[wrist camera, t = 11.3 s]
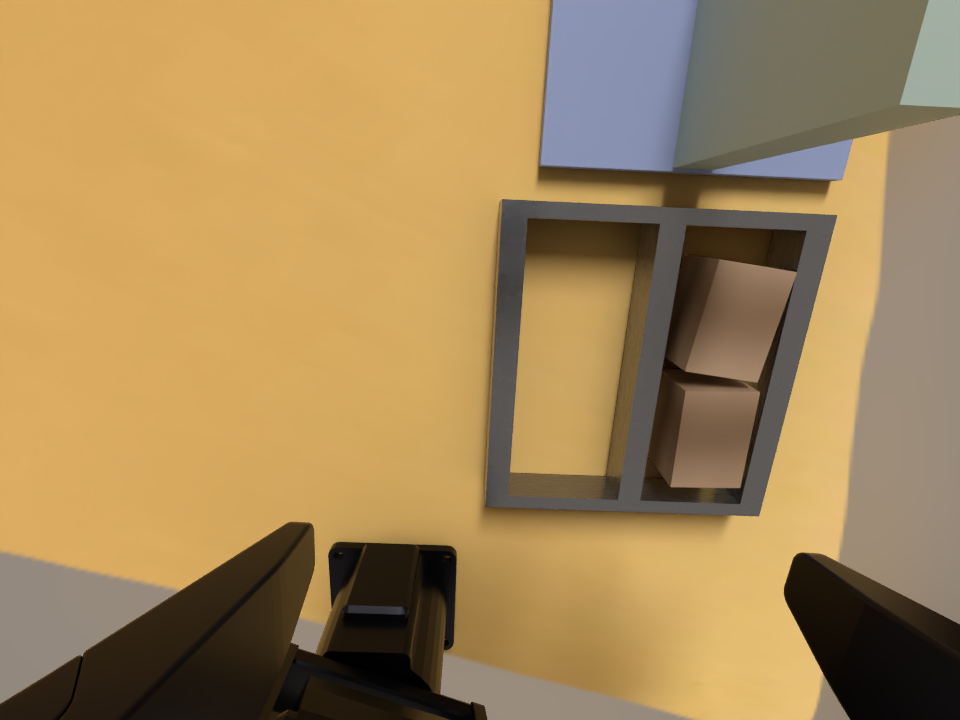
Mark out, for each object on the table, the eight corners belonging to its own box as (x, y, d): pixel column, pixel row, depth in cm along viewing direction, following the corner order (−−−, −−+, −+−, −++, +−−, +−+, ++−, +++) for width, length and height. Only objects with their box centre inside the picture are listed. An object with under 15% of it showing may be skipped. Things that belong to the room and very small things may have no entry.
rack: (735, 491, 23) (758, 516, 21) (484, 482, 22) (485, 506, 21) (800, 215, 19) (837, 215, 17) (499, 201, 19) (502, 199, 17)
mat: (831, 181, 19) (842, 179, 18) (538, 167, 18) (540, 165, 18) (899, -93, 16) (915, -105, 15) (559, -114, 16) (563, -127, 15)
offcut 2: (706, 453, 22) (740, 488, 19) (645, 453, 22) (670, 487, 19) (721, 368, 21) (760, 392, 18) (657, 367, 21) (685, 391, 18)
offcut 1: (719, 360, 21) (757, 382, 18) (656, 350, 21) (685, 371, 18) (750, 264, 20) (797, 272, 17) (683, 253, 20) (719, 259, 17)
